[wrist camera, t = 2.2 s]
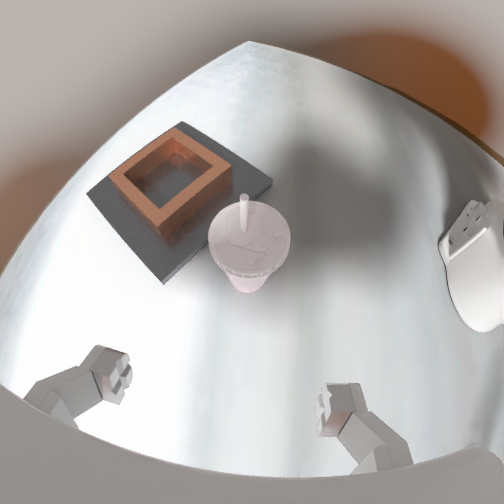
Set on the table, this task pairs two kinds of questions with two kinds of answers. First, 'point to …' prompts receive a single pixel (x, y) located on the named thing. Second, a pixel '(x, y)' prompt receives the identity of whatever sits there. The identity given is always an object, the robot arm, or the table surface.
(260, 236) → the smoothie
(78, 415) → the robot arm
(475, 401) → the table surface
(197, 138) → the mount
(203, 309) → the table surface
